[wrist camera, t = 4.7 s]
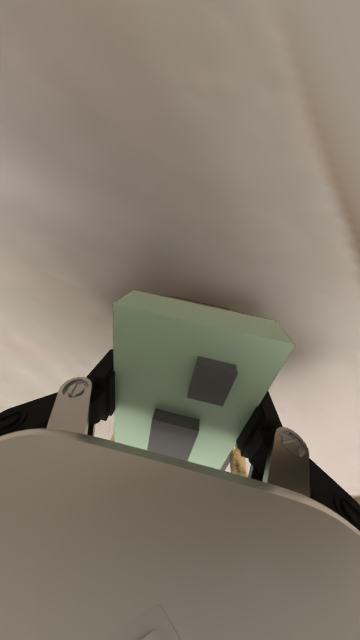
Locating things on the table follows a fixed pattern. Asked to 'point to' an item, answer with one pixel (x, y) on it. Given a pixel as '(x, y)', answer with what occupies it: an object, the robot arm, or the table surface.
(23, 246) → the table surface
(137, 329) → the board
